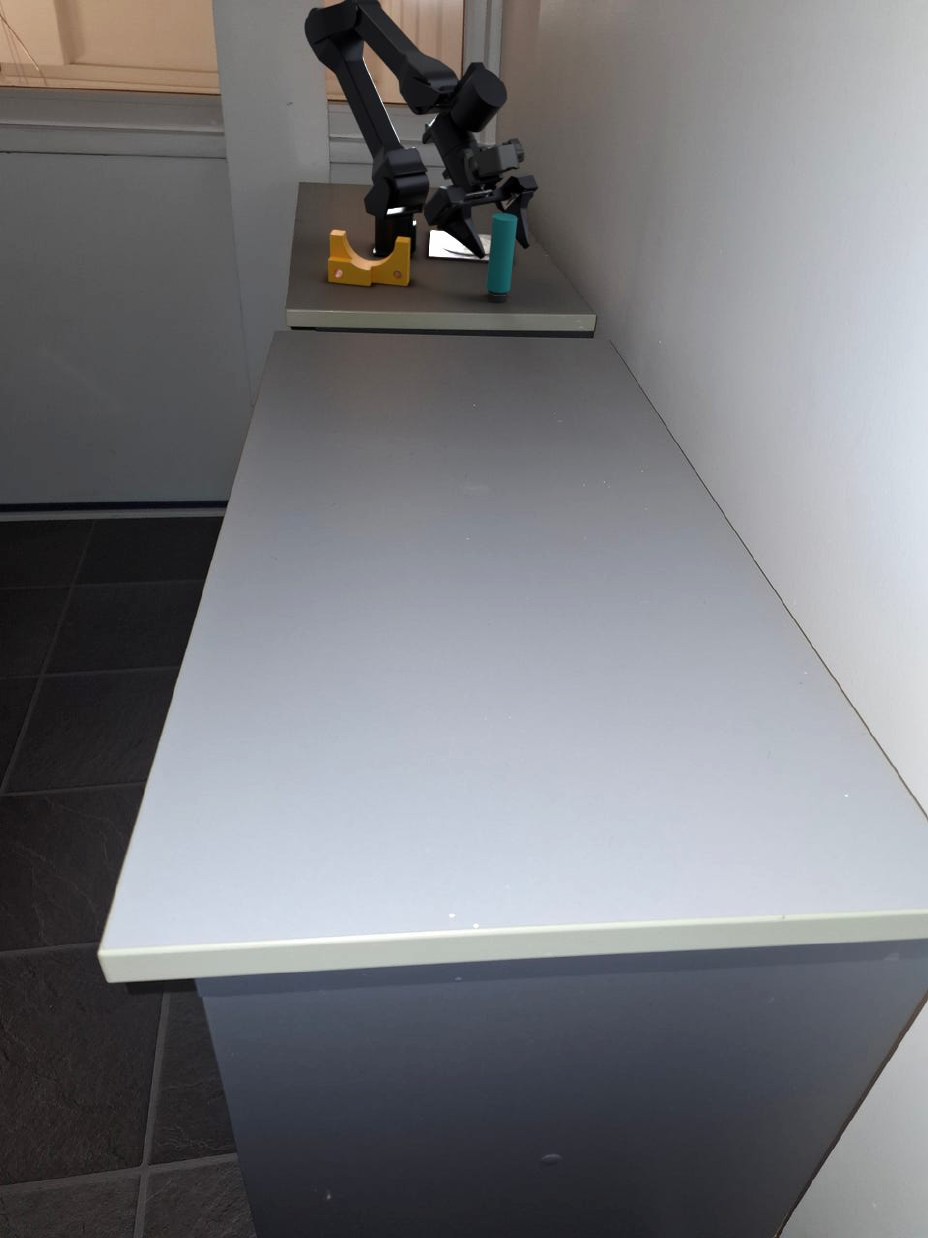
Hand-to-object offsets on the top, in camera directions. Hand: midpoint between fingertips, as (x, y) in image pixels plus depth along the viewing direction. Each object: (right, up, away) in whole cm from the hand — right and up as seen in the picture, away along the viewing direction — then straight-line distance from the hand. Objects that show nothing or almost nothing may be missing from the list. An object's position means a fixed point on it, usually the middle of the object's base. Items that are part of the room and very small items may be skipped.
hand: (505, 252), depth 127 cm
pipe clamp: (-21, -2, +7) cm, 22 cm away
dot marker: (-1, -5, +5) cm, 7 cm away
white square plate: (-5, +11, +23) cm, 26 cm away
